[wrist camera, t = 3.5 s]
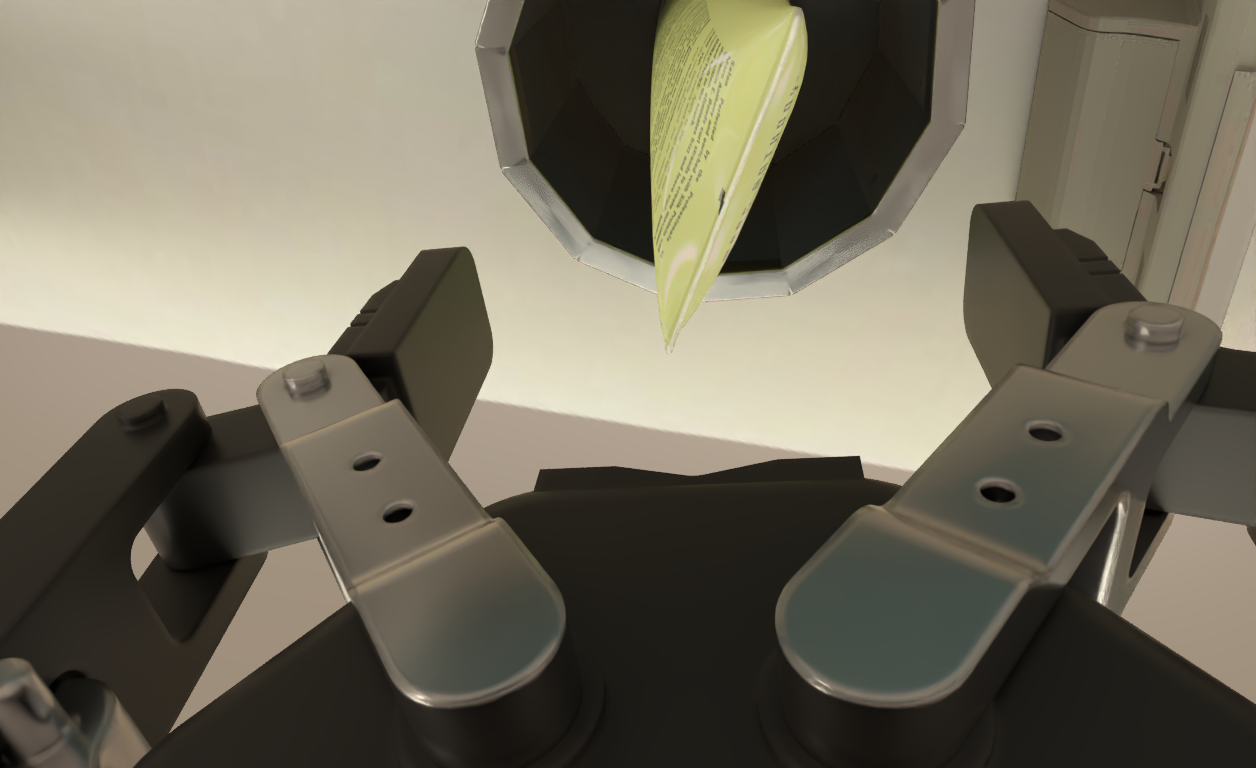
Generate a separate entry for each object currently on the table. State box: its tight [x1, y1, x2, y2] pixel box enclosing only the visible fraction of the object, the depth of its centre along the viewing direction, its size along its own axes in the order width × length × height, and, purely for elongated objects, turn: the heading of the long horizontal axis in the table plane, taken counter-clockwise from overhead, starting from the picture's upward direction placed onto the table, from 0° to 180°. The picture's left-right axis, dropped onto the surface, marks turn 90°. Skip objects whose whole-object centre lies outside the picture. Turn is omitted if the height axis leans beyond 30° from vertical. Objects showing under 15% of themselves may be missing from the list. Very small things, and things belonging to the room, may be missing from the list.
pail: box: [475, 0, 975, 302], centre depth 29 cm, size 14×14×10 cm
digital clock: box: [1016, 0, 1256, 330], centre depth 29 cm, size 16×9×11 cm, turn 173°
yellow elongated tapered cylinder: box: [650, 0, 808, 355], centre depth 25 cm, size 6×5×20 cm
